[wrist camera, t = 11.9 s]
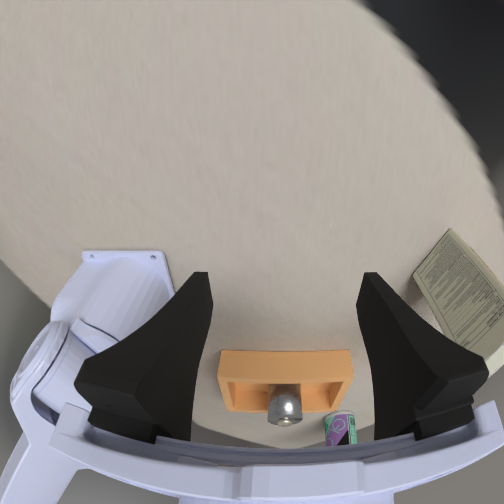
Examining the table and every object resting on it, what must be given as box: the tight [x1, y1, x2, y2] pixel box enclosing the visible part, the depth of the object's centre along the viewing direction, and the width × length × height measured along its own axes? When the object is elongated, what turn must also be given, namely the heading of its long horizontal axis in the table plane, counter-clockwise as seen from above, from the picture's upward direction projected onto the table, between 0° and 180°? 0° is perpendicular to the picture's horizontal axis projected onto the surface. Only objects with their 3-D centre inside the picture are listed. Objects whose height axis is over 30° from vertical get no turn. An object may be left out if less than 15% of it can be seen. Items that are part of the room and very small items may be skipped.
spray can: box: [325, 411, 357, 447], centre depth 33 cm, size 6×6×20 cm
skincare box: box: [412, 228, 504, 378], centre depth 17 cm, size 6×4×12 cm
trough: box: [217, 350, 354, 413], centre depth 31 cm, size 15×10×4 cm, turn 92°
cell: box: [268, 384, 302, 427], centre depth 29 cm, size 4×4×7 cm
